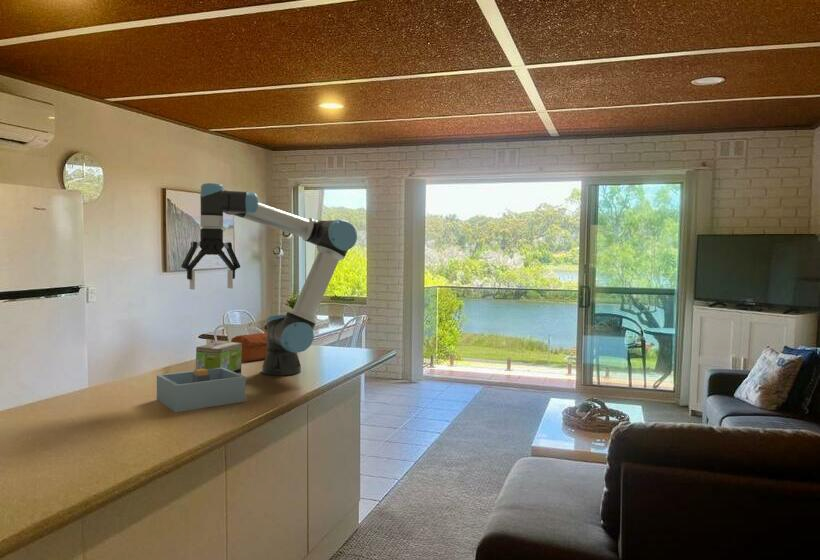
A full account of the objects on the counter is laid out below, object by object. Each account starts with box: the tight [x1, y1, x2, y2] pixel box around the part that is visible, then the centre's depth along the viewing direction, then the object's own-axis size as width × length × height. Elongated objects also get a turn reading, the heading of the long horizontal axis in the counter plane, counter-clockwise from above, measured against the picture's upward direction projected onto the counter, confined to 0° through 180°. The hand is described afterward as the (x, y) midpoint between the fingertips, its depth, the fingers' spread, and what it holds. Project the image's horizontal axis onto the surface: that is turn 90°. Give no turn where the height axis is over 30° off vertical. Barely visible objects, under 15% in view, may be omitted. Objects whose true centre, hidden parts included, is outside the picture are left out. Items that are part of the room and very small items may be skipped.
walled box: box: [156, 367, 247, 413], centre depth 190 cm, size 22×18×8 cm
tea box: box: [195, 341, 242, 375], centre depth 212 cm, size 15×10×15 cm
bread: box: [230, 331, 267, 363], centre depth 268 cm, size 16×27×11 cm, turn 140°
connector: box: [193, 368, 210, 383], centre depth 190 cm, size 4×4×10 cm
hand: (211, 288), depth 208 cm, fingers open, 13 cm apart
